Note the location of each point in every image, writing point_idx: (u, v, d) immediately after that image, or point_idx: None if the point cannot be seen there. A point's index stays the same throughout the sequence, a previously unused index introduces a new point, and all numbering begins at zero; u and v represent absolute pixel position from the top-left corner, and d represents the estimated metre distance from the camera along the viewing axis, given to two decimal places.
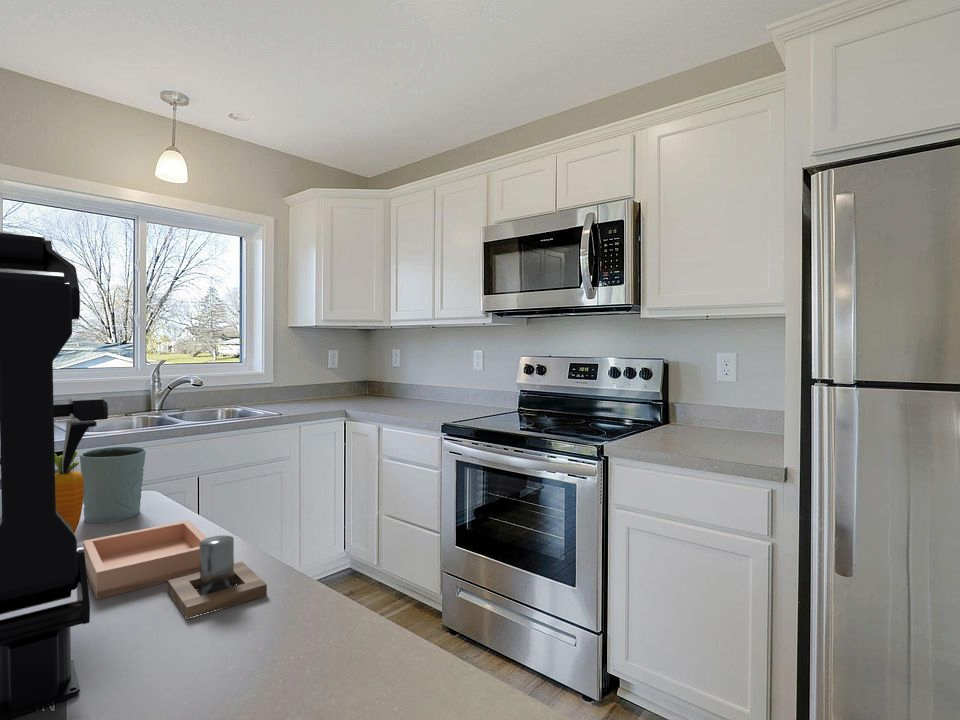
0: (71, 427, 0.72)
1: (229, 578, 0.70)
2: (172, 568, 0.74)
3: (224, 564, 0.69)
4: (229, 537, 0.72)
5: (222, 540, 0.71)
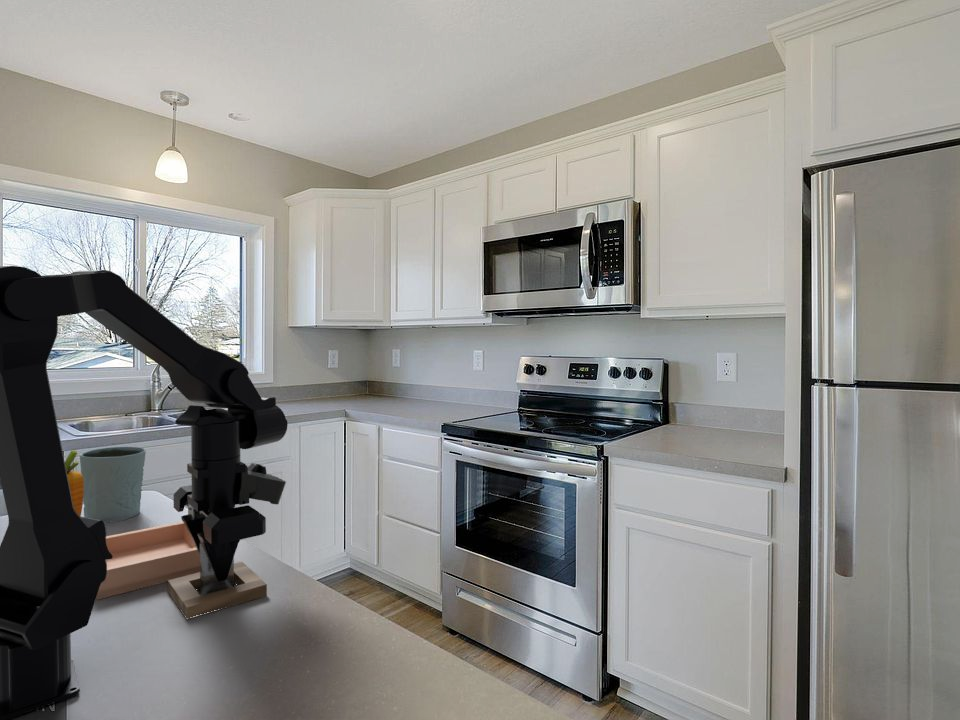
0: (198, 535, 0.66)
1: (229, 577, 0.70)
2: (172, 568, 0.74)
3: None
4: None
5: None
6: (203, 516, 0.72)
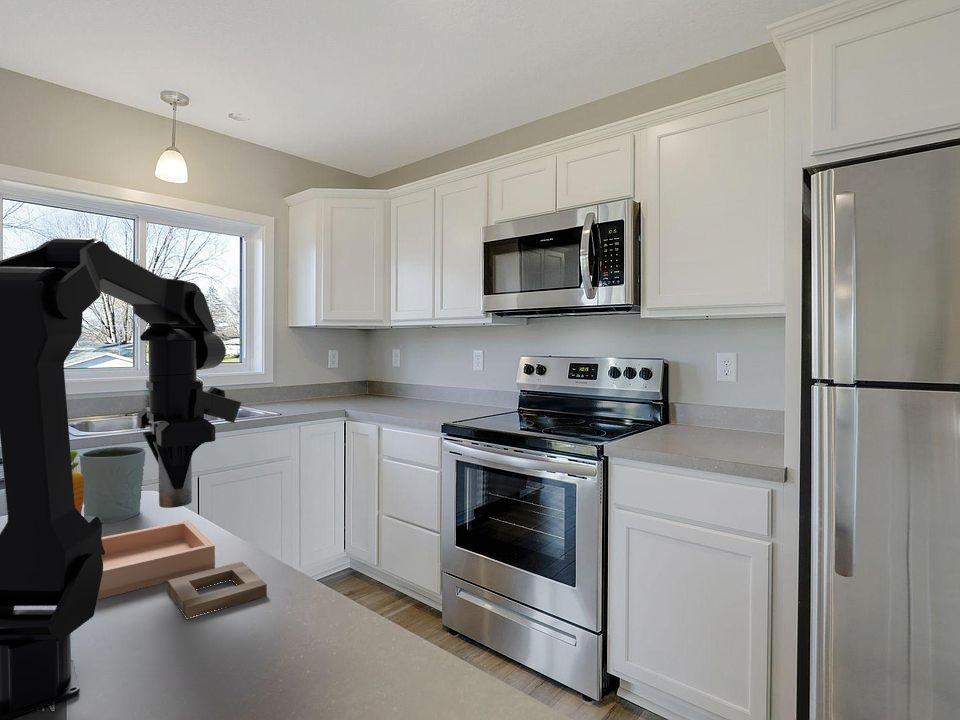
0: (153, 444, 0.71)
1: (186, 487, 0.75)
2: (172, 568, 0.74)
3: None
4: None
5: None
6: None
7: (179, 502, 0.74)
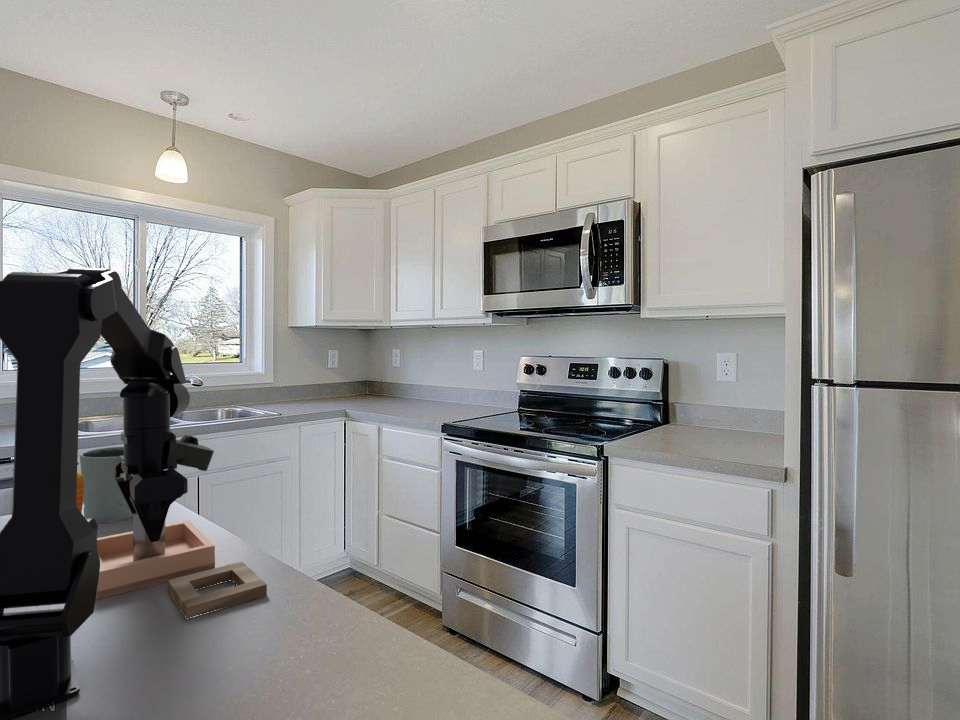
0: (130, 499, 0.73)
1: (160, 545, 0.78)
2: (172, 568, 0.74)
3: None
4: None
5: None
6: None
7: None
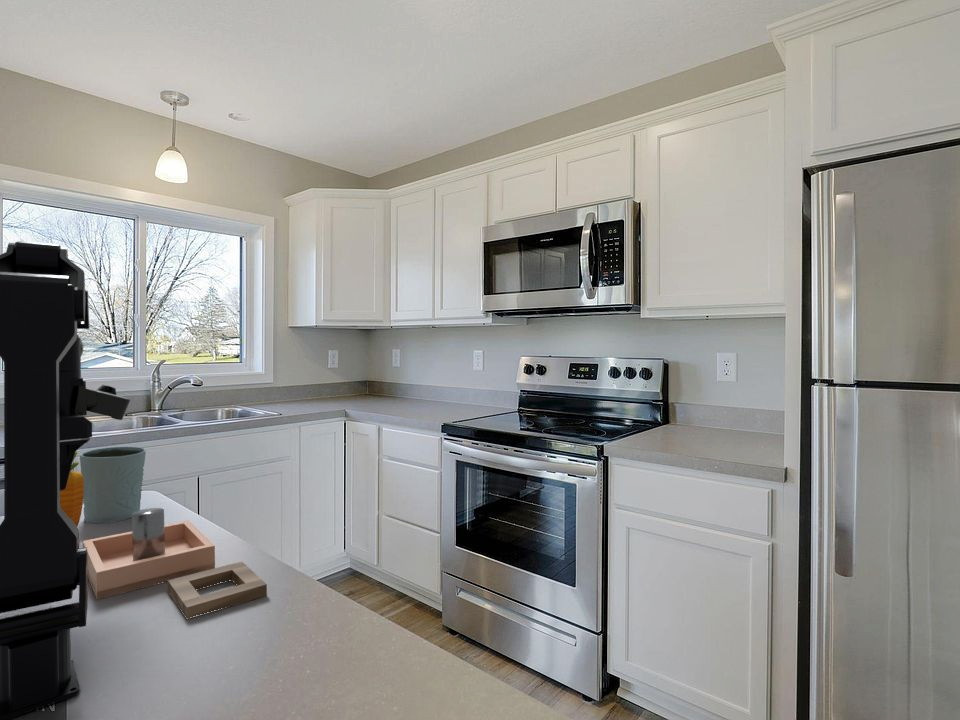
0: None
1: (159, 544, 0.78)
2: (172, 568, 0.74)
3: (154, 532, 0.77)
4: (160, 509, 0.80)
5: (153, 511, 0.79)
6: None
7: None
